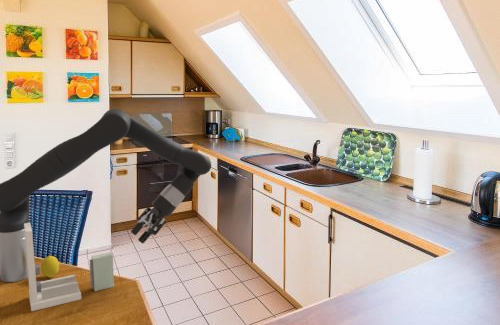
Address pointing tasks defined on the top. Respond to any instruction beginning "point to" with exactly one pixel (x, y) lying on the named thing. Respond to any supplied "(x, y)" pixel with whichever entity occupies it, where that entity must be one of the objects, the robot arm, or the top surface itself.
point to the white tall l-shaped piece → (47, 282)
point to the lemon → (50, 266)
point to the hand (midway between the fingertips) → (136, 237)
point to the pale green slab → (102, 271)
